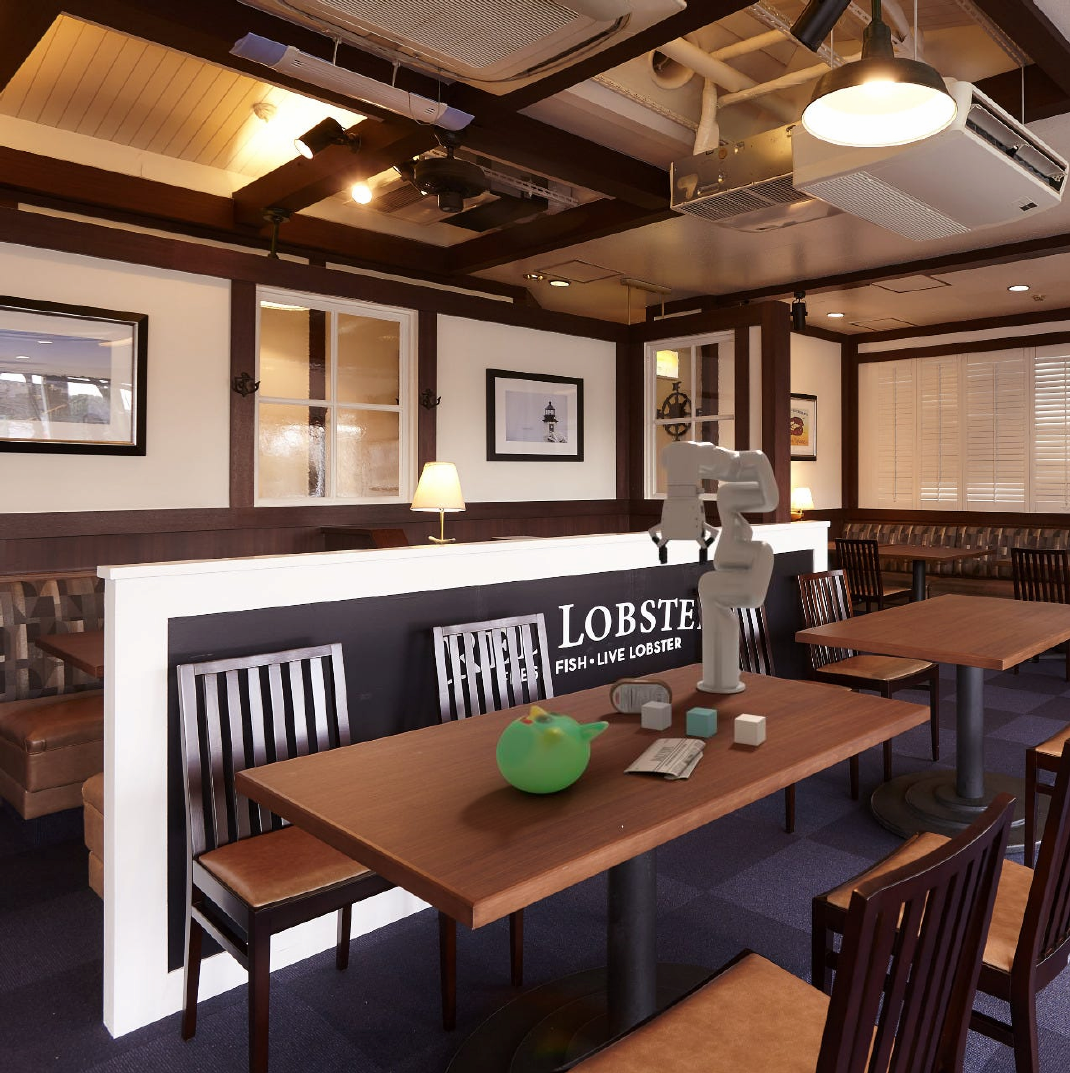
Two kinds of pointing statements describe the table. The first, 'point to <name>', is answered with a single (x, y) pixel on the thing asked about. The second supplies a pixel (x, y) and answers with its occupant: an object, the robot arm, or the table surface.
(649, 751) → the newspaper
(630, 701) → the tin
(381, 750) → the table surface
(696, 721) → the teal block
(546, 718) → the toy bird
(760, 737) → the cream block
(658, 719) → the grey block
